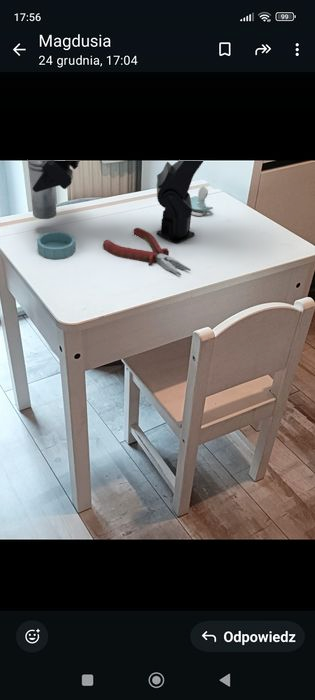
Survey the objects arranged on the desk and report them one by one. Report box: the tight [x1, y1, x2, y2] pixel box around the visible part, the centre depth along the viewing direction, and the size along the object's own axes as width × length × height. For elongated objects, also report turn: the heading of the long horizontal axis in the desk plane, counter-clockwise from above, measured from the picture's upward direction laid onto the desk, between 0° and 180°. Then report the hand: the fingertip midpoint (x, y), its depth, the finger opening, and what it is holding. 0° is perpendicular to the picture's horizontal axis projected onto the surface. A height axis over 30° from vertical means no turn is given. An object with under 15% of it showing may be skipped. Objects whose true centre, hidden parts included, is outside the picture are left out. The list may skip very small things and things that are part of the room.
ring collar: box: [36, 231, 76, 260], centre depth 122 cm, size 8×8×2 cm
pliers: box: [102, 227, 191, 276], centre depth 122 cm, size 12×20×3 cm, turn 46°
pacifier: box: [190, 186, 214, 217], centre depth 140 cm, size 7×6×6 cm
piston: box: [27, 160, 58, 220], centre depth 123 cm, size 5×5×13 cm
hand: (35, 185), depth 123 cm, fingers closed on piston, 5 cm apart
